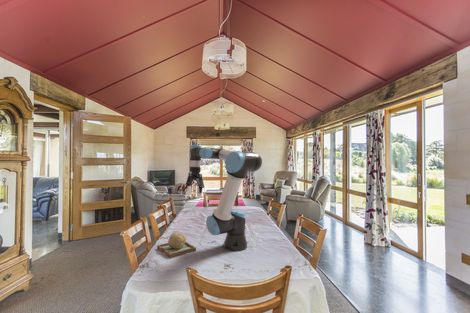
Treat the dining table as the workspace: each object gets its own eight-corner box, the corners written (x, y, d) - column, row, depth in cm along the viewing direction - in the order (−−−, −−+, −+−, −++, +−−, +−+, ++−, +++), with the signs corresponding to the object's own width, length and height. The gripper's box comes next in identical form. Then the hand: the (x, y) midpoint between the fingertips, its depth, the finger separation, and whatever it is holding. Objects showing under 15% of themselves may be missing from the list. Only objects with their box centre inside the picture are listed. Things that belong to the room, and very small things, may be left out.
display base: (196, 251, 144) (196, 247, 144) (170, 258, 133) (170, 254, 133) (181, 242, 157) (182, 239, 157) (157, 248, 145) (157, 245, 145)
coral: (174, 232, 152) (185, 228, 148) (177, 248, 150) (189, 245, 145) (163, 235, 144) (175, 231, 140) (166, 252, 141) (178, 249, 137)
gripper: (210, 167, 163) (208, 198, 163) (190, 165, 182) (189, 193, 182) (200, 167, 158) (199, 199, 158) (181, 165, 177) (180, 194, 177)
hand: (194, 196), depth 170 cm, fingers open, 13 cm apart
